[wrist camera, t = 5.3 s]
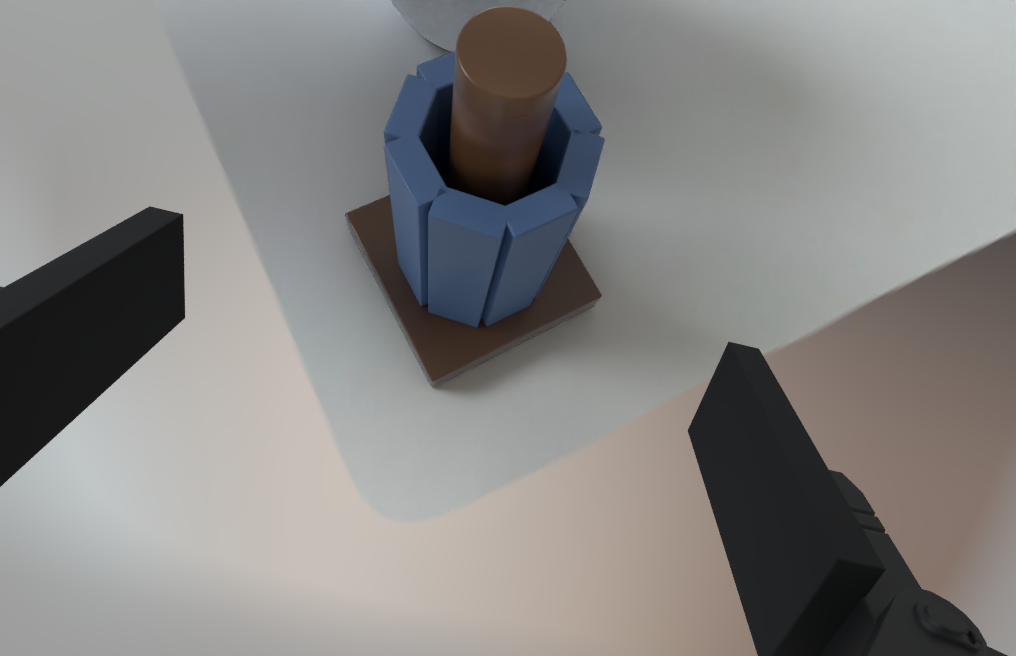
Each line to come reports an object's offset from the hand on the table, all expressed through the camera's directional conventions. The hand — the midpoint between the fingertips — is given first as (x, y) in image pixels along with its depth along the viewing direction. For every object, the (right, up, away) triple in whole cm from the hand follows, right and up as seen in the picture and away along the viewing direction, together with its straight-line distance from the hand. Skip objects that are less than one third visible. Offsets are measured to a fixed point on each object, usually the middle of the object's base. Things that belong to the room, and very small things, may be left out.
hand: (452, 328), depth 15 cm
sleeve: (0, +3, +11) cm, 12 cm away
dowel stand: (0, +3, +13) cm, 13 cm away
